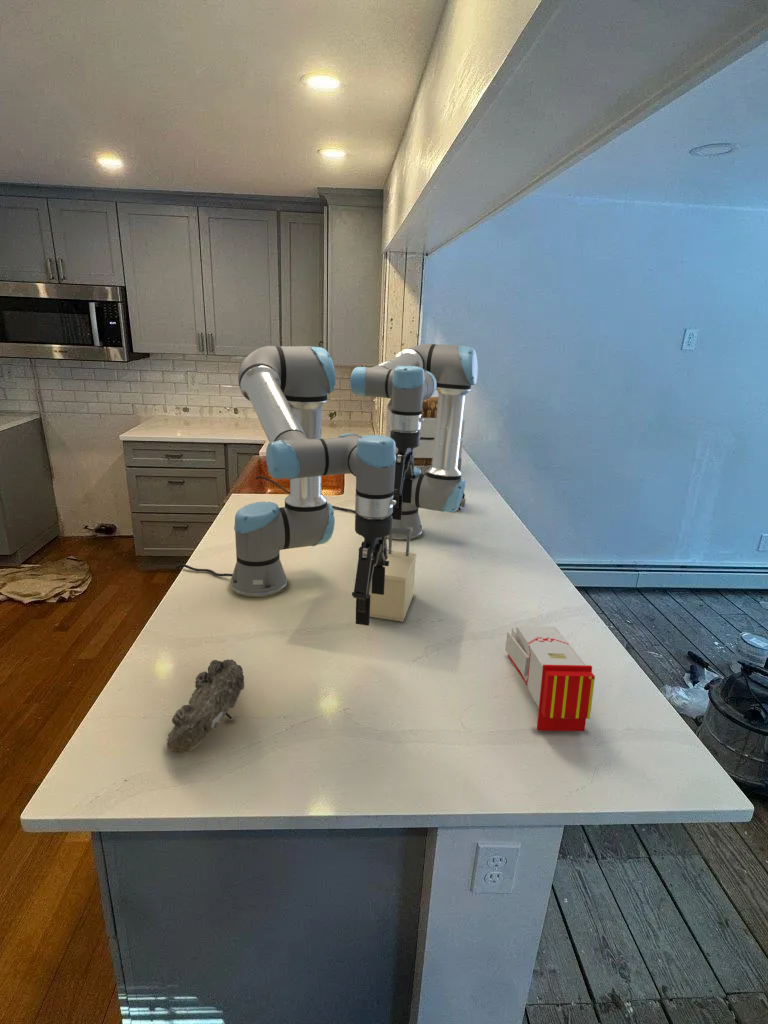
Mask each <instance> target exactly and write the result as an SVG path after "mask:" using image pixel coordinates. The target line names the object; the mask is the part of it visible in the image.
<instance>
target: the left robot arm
mask: <svg viewBox="0 0 768 1024" xmlns="http://www.w3.org/2000/svg"><path fill="white" fill-rule="evenodd" d="M237 382H238V387H239V389H240V392H241V394H242V395H243V396H244V398H245V399H246V400H248V401H249V402H250V403H251V405H252V407H253V409H254V412H255V414H256V416H257V418H258V420H259V422H260V425H261V427H262V429H263V431H264V433H265V435H266V438H267V440H268V442H269V443H268V444H267V446H266V450H265V461H266V462H265V463H266V466H267V471H268V473H269V475H270V477H271V478H273V479H276V480H289V492H290V494H288V495H287V496H286V497H285V498H284V506H282V507H279V505H278V504H277V503H275V502H273V501H267V502H266V501H258V502H252V503H248V504H246V505H244V506H242V507H240V508H239V509H238V510H237V511H236V513H235V515H234V527H233V529H234V536H235V538H234V539H235V555H236V562H235V565H234V569H233V571H232V573H218V572H216V571H214V570H212V569H209V568H195V567H193V566H190V565H188V564H185V563H181V564H178V565H176V567H175V568H176V569H180V568H181V567H182V568H187V569H188V570H191V571H194V572H204V573H205V572H207V573H210V574H212V575H213V576H216V577H231V579H230V589H231V591H232V592H233V593H234V594H236V595H238V596H240V597H242V598H249V599H263V598H269V597H272V596H276V595H278V594H280V593H282V592H283V591H284V590H286V588H287V586H288V584H287V583H288V579H287V574H286V572H285V569H284V567H283V564H282V562H281V557H280V556H281V555H280V551H283V550H289V549H290V550H291V549H297V548H304V547H317V546H318V545H324V544H326V543H328V542H329V541H330V540H331V538H332V537H333V534H334V531H335V523H336V522H335V510H334V508H332V506H333V505H332V504H331V503H330V502H328V498H327V497H326V496H325V495H324V494H323V493H322V492H323V491H322V489H323V488H322V487H323V485H322V484H323V483H322V478H323V476H324V477H325V476H337V475H353V476H354V477H355V501H354V504H355V505H354V510H355V512H356V513H355V515H354V531H355V533H356V534H357V535H359V536H361V537H362V538H363V541H362V542H361V546H359V548H358V559H357V565H356V566H357V567H356V574H355V580H354V587H353V591H352V592H351V596H352V597H353V598H354V599H355V625H361V626H367V627H369V626H370V623H371V621H370V620H371V619H370V618H371V617H370V596H371V595H369V592H370V587H371V581H372V593H373V594H380V595H384V584H385V567H383V566H389V561H386V560H387V558H388V554H387V550H388V546H387V545H388V543H387V537H386V536H388V535H390V534H391V532H392V521H393V517H392V515H391V514H392V513H393V505H395V504H396V500H393V494H394V480H395V465H396V444H395V441H394V440H393V439H392V438H390V437H387V436H386V435H380V434H366V435H359V434H356V433H350V432H346V433H342V434H340V435H339V436H337V437H331V438H322V407H323V406H324V405H325V404H326V403H327V402H328V394H331V393H333V392H334V391H335V386H336V370H335V365H334V362H333V359H332V357H331V355H330V353H329V352H328V351H327V350H326V349H325V348H323V347H321V346H310V345H293V346H292V345H291V346H290V345H286V346H282V345H281V346H280V345H279V346H278V345H266V346H262V347H260V348H257V349H255V350H253V351H252V352H251V353H249V354H248V355H247V356H246V357H245V358H244V359H243V360H242V363H241V365H240V367H239V370H238V373H237ZM375 565H376V566H375Z"/></svg>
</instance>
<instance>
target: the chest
mask: <svg viewBox="0 0 768 1024" xmlns="http://www.w3.org/2000/svg"><path fill="white" fill-rule="evenodd" d="M416 559H417V558H416ZM416 559H415V561H414V564H413V566H412V568H411V571H410V573H409V575H408V577H407V580H406V582H401V581H394V580H387V579H385V584H384V595H380V594H373V593H372V581H371V587H370V592H369V595H371V596H370V618H376V619H382V620H389V621H396V622H404V621H405V618H406V615H407V614H408V613H407V612H408V611H409V607H410V605H411V603H412V599H413V597H414V591H415V575H416V562H417V561H416Z"/></svg>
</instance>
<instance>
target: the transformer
mask: <svg viewBox="0 0 768 1024" xmlns="http://www.w3.org/2000/svg"><path fill="white" fill-rule="evenodd" d="M437 405H438V396H431V397H430V398H428V399H427V400H424V401H423V402H422V414H421V418H423V419H424V421H423V422H421V428H420V430H418V431H419V432H420V445H419V446H418V447H416V448H414V451H413V452H414V467H417V466H418V467H431V466H432V458H433V447H434V437H435V426H436V416H437ZM391 411H392V399H391V398H390V400H389V402H388V404H387V405H386V413H385V414H386V415H385V423H386V428H385V437H386V436H387V437H390V432H391V430H393V429H391V427H390V426H391ZM464 429H465V419H464V418H463V420H462V429H461V438H460V448H459V457H458V466H457V468H458V470H459V471H460V472H461V473H462V461H463V460H462V453H463V442H464V441H463V440H462V439H463V438H464V431H465V430H464ZM397 452H398V448H397V447H396V453H397Z"/></svg>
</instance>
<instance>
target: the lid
mask: <svg viewBox="0 0 768 1024" xmlns="http://www.w3.org/2000/svg"><path fill="white" fill-rule="evenodd" d="M392 534H399V535H407V540H406V543H405V544H406V546H405V551H400V550H392V547H393V539H392ZM410 535H411V529H410V528H402V527H394V526H392V532H391V534H390V535H389V538H388V549H387V554H388V558H387V560H386V561H389V566H383V567H385V579H387V580H394V581H401V582H406V580H407V577H408V575H409V573H410V571H411V568H412V566H413V564H414V561H415V559H417V553H415V552H410ZM415 562H416V561H415ZM375 566H376V565H375Z"/></svg>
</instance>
